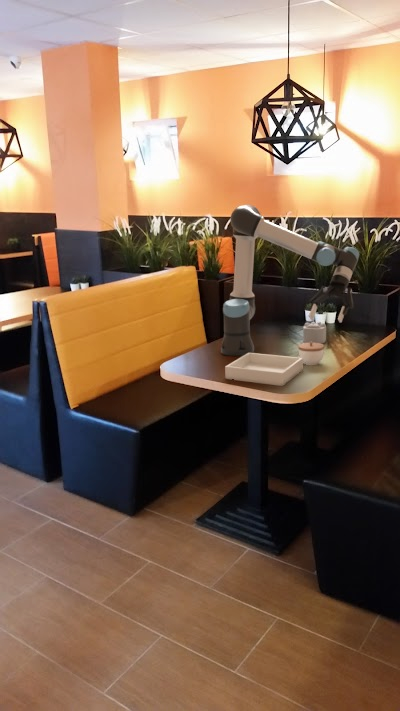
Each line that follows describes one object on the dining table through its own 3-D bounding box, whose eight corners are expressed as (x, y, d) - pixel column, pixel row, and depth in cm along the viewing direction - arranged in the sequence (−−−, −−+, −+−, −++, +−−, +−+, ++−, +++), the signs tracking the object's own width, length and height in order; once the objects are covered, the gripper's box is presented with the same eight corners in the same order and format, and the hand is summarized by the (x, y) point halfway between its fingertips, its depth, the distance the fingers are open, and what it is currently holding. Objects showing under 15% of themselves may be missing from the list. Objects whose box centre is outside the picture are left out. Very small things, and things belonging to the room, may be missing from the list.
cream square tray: (225, 378, 233) (225, 366, 232) (248, 363, 251) (248, 352, 250) (282, 385, 222) (282, 373, 220) (302, 369, 240) (302, 357, 239)
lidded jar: (324, 367, 242) (324, 345, 240) (297, 366, 244) (297, 344, 242) (324, 360, 252) (324, 338, 250) (298, 359, 255) (298, 338, 252)
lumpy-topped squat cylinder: (301, 343, 281) (301, 325, 279) (306, 336, 293) (306, 319, 291) (323, 344, 278) (323, 326, 275) (328, 337, 289) (328, 320, 287)
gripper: (370, 285, 254) (354, 326, 247) (318, 282, 269) (302, 321, 262) (365, 274, 248) (349, 316, 241) (312, 272, 264) (295, 311, 257)
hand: (324, 319), depth 252 cm, fingers open, 13 cm apart
